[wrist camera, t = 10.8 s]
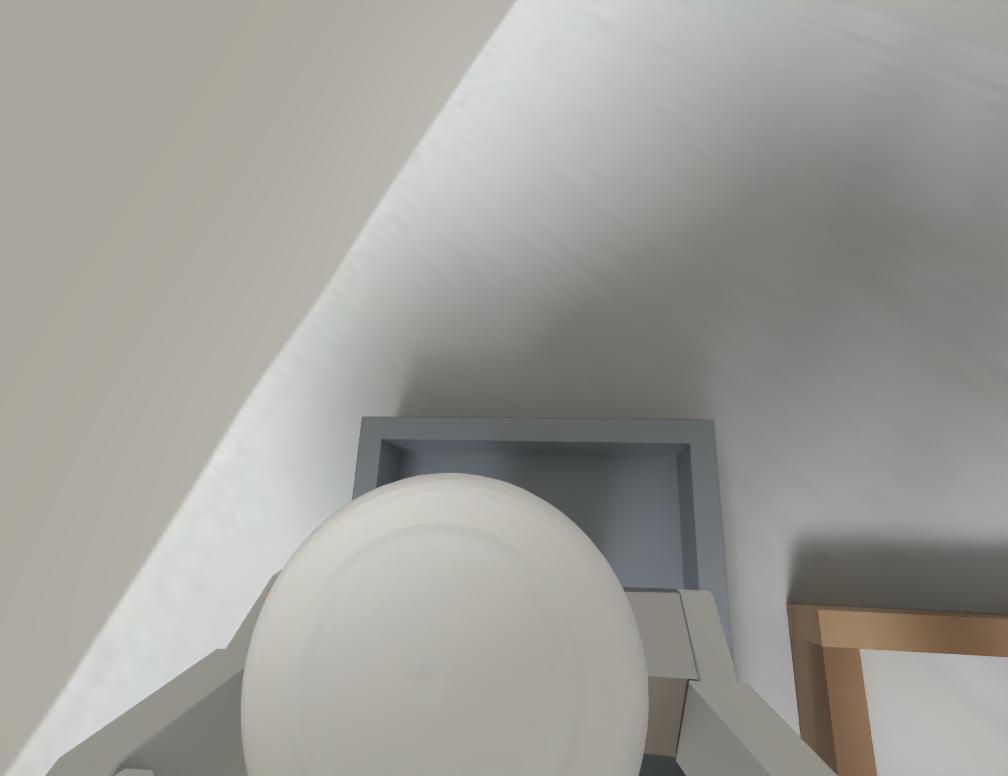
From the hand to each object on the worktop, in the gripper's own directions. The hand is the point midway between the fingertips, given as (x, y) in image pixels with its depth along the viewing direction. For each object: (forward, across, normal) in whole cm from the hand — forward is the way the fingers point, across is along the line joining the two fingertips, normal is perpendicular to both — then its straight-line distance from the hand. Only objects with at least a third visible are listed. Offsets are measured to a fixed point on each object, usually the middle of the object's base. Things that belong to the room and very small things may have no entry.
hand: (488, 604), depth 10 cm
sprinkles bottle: (+6, 0, +8) cm, 10 cm away
